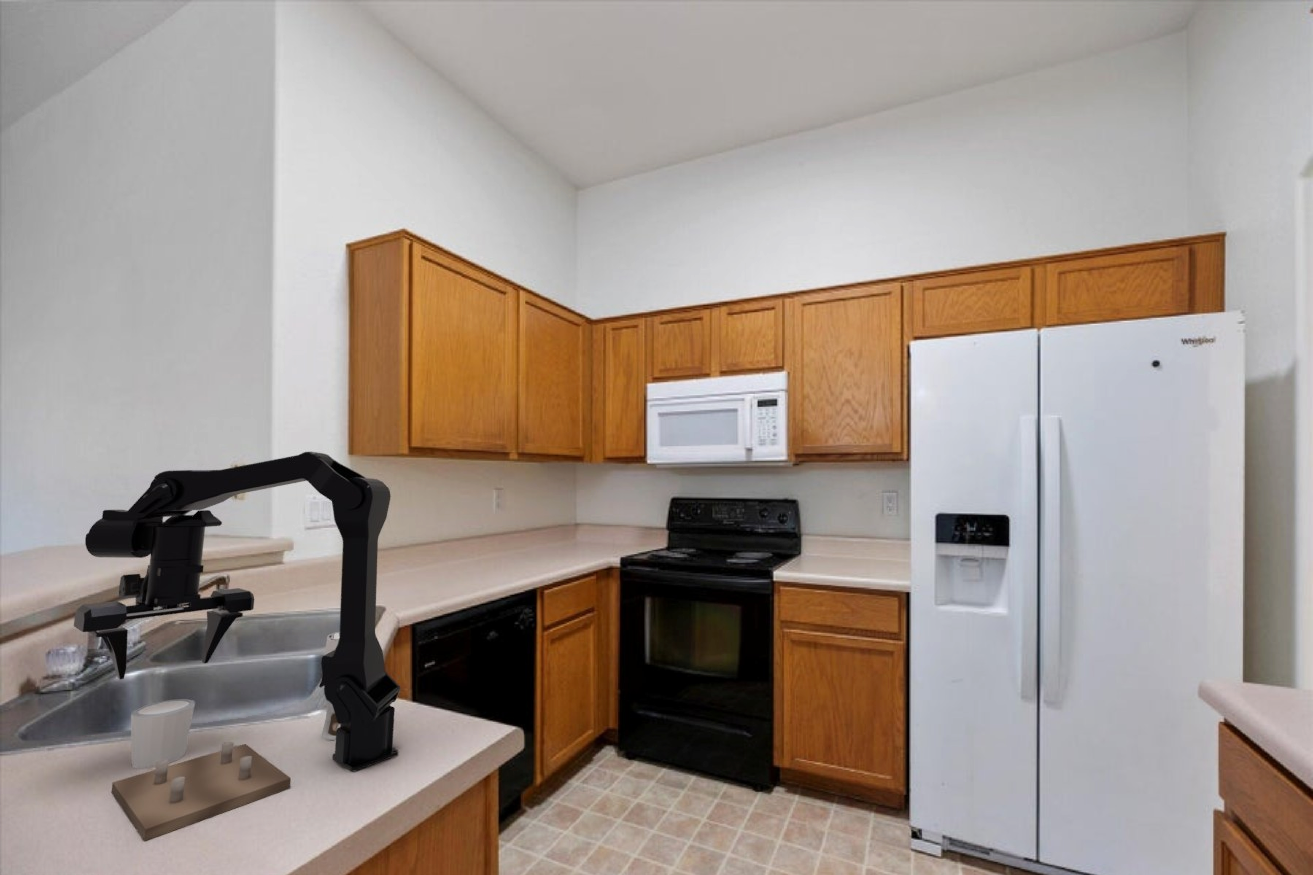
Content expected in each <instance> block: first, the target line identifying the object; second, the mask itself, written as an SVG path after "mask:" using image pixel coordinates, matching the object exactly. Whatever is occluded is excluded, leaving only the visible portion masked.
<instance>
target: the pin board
mask: <svg viewBox="0 0 1313 875" xmlns="http://www.w3.org/2000/svg"><path fill="white" fill-rule="evenodd" d="M154 768H155V769H154V770H150V771H146V772H144V773H140V774H136V775H132V776H129V777H126V778H122V779H118V780H116V781H113V782H112V785H111V786H112V787H111V794H112V795H113V797H114V799H115V800H116V801H117V803H118V805H120V808H122V810H123V812H124V814H125V815H126V816H127V818H128V820H130V822H131V823H132V825H133V826H134V828H135V830H136V831H137V832H138V834H139V835H140V836H141V839H142V840H143V841H144V842H146V841H148V840H151V839H154V838H158V837H160V836H162V835H165V834H167V833H170V832H173V831H176V830H178V829H181V828H184V827H186V826H190V825H193V824H195V823H197V822H201V821H203V820H206V819H209V818H211V817H214V816H217V815H220V814H223V813H225V812H228V811H230V810H234V809H236V808H239V807H241V806H244V805H248V804H250V803H252V802H256V801H258V800H261V799H264V798H266V797H269V796H273V795H274V794H278V793H280V792H282V791H285V790H289V789H291V782H292V780H291V777H290V776H288V774H286V773H285V772H283V771H282V770H281V769H279V768H278V767H277V766H276V765H274V764H273V763H271V762H270V761H269V760H267V758H265V757H264V756H262V755H261V754H259V753H258V752H257V751H256V750H254V749H253V748H252V747H250V746H249V745H248V744H246V743H244V744H243V743H242V744H239V745H236V746H234V741H225V742H223V743H222V744H221V750H219V751H215V752H211V753H209V754H205V755H201V756H198V757H195V758H192V759H188V760H185V761H181V762H177V763H174V764H170V765H169V763H168V760H162V761H159V762H157V763H156V767H154Z"/></svg>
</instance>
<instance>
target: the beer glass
mask: <svg viewBox="0 0 1313 875" xmlns="http://www.w3.org/2000/svg"><path fill="white" fill-rule="evenodd" d="M339 633H340V631H335V632H333V633H330V634H328V635H327V636H326V642H325V649H324V655H326V654H328V653H330V652H332V651H333V650H335V649H336V647H337V644H338V642H339ZM325 708H326V714H325V719H324V724H323V728H322V730H321V738H323V739H324V740H326V741H336V730H337V728H339V727H340V724H339V723H338V722H337V719H336V715H335V712H334V709H333V705H332V704H331V703H330V702H329V701H327V700H326V699H325Z"/></svg>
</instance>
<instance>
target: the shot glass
mask: <svg viewBox="0 0 1313 875" xmlns="http://www.w3.org/2000/svg"><path fill="white" fill-rule="evenodd" d="M195 706H196V701H195V700H192V699H189V698H188V699H186V698H180V699H179V698H178V699H177V698H175V699H168V700H163V701H159V702H158V701H157V702H154V703H149V704H145V705H143V706H140V707H138V708H136V709H135V710H133V711H132V712H131V714H130V728H131V730H130V732H131V733H130V734H131V736H130V737H131V740H130V741H131V745H130V746H131V748H130V749H131V752H130V753H131V766H132V767H133V768H135V769H151V768H155V767H156V763H157V762H159V761H162V760H168V764H171V763H174V762H176V761H178V760H179V759H182V758H183V757H185V753H186V749H187V746H188V740H189V735H190V730H191V725H192V719H193V716H194V712H195V711H194V710H195Z"/></svg>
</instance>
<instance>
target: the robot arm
mask: <svg viewBox="0 0 1313 875" xmlns="http://www.w3.org/2000/svg"><path fill="white" fill-rule="evenodd" d="M302 482H308V483H309V484H310V485H311V486H312V487H313V488H314V489H315V490H316V491H317V492H318V493H319V494H320V495H322V496H324V497H325V498H326V499H328V500H329V501H331V506H332V512H333V513H332V514H333V519H334V523H335V525H336V527H337V530H338V531H339V535H340V537H341V538H342V557H341V559H342V560H341V578H340V579H341V580H340V581H341V585H340V586H341V588H340V608H339V609H340V612H339V632H340V633H339V642H338V644H337V647H336V649H335V650H333V651H332V652H330V653H328V654H326V655H325V654H324V655H322V656H321V664H320V666H321V672H322V676H321V680H320V683H319V684H318V685H319V686H318V687H319V688H323V693H324V694H323V695H324V697H325V701H326V700H327V701H329V702H330V703H331V704H332V705H333V709H334V712H335V715H336V719H337V722H338V723H339V724H340V727H339V728H337V730H336V740H335V746H334V748H335V749H334V753H333V754H332V760H334V761H336V763H337V762H338V763H339V764H341V765H342V766H344V767H346V768H347V769H349V771H351V772H352V771H353V772H354V771H358V770H361V769H364V768H366V767H368V766H371V765H373V764H376V763H379V762H382V761H384V760H388V759H390V758H392V757H395V756H398V755H399V750H398V749H396V748H395V747H394V746H393V742H394V729H395V728H394V727H395V726H394V725H395V710H396V708H395V707H394V706H392V704H393V703H395V701H397V699H398V696H399V694H400V692H401V688H402V687H401V686H400V684H398V683H397V682H396V681H395V679H393V678H392V677H391V676H390V675H389V674H388V672H387V671H386V665H385V659H384V651H383V648H382V646H381V644H380V642H379V640H378V637H377V635H376V614H377V613H376V612H377V586H378V585H377V580H378V576H377V575H378V549H379V548H378V547H379V545H378V544H379V543H378V542H379V537H380V534H381V532H382V530H383V528H384V525H385V522H386V520H387V517H388V513H389V507H390V502H391V497H392V496H391V491H390V488H389V486H387V485H386V483H384V481H381V480H380V479H377V478H376V479H375V478H369V477H365V476H364V475H362V474H360V473H359V472H357V471H355V470H353V469H351V468H349V467H348V466H345V465H343V464H342V463H340V462H338V461H337V460H336V459H333V457H331V456H330V455H329V454H326V453H323V452H317V451H305V452H304V451H303V452H302V453H300V454H296V455H292V456H286V457H285V456H284V457H281V458H275V459H270V460H265V461H258V462H253V463H250V464H244V465H239V466H232V467H229V468H224V469H188V470H186V469H184V470H165V471H161V472H159V473H158V474H155V475H154V478H153V480H152V481H151V482H150V485H149V487H148V489H146V490H145V492H144V493H142V494H141V496H140V497H139V498H137V500H136V501H135V502H134V503H133V504H132V505H131V507H130V508H129V509H128V510H125V509H104V510H102V516H101V518H100V519H98V520H97V521H95V522H94V523H93V524H92V525H91V527H90V529H89V531H88V533H86V534H85V538H84V539H85V542H84V543H85V544H84V545H85V547H86V550H87V552H88V553H89V554H90V555H91V556H93V557H95V558H128V559H130V558H131V559H132V558H133V559H135V558H136V559H137V558H138V559H142V558H143V559H144V558H146V557H148V556H150V558H149V564H148V565H147V569H146V574H145V576H144V577H142V576H141V573H132V574H123V575H121V577H120V580H119V587H118V599H119V600H126V599H135V604H134V605H126V604H125V603H122V602H120V601H118V600H114V601H105V602H96V603H93V602H92V603H87V604H86V603H85V604H81V606H79V607H78V608H77V609H76V611H75V614H74V618H73V619H74V620H73V627H75V628H76V629H77V630H79V631H80V632H82V633H89V634H91V635H92V636H93V637H95V638H102V640H103V642H104V644H105V646H106V648H107V649H108V653H109V655H110V659H111V662H112V664H113V667H114V670H115V672H116V675H117V678H118V679H119V680H124V679H125V675H126V670H127V660H128V659H127V657H128V655H127V654H128V632H129V630H128V628H126V627H123V624H124V623H125V622H127V621H128V620H130V621H131V620H138V619H145V618H152V617H160V616H168V615H175V614H176V615H177V614H185V613H191V612H200V611H206V610H207V611H206V620H207V623H206V624H207V626H206V630H205V635H204V641H203V645H202V646H203V647H202V650H201V652H202V653H201V654H202V655H201V656H202V657H201V663H203V664H208V663H209V661H210V659H211V658H212V656H213V654H214V652H215V651H216V650H217V647H218V646H219V644H220V642H221V640H222V638H224V636H225V634H226V632H227V631H228V630H229V629H230V627H231V626H232V625H233V623H234V622H235V620H236V619H238V618H242V617H243V616H244V613H243V612H249V611H252V610H254V609H255V608H254V606H255V597H254V596H255V595H254V593H252V592H251V591H250V590H246V589H244V588H243V589H242V588H239V587H238V588H229V589H227V588H226V589H218V590H213V591H212V592H211V594H210V596H206V597H201V596H202V594H200V593H199V591H200V582H201V581H200V580H201V573H204V565H203V564H202V561H203V551H204V542H205V541H204V540H205V531H206V528H210V527H220V526H221V525H222V524H223V521H221V519H219V518H218V517H217V516H214V514H213V513H212V511H211V510H209V509H207V508H210V507H213V506H217V505H218V504H221V503H224V502H225V501H227V500H229V499H231V498H232V497H235V496H237V495H240V494H245V493H250V492H255V491H262V490H267V489H271V488H277V487H282V486H286V485H287V486H288V485H291V484H297V483H302ZM205 509H207V510H205ZM192 511H196V512H195V513H194V514H189V513H191V512H192ZM165 517H167V519H165V521H164V518H165ZM156 608H158V609H156Z"/></svg>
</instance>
